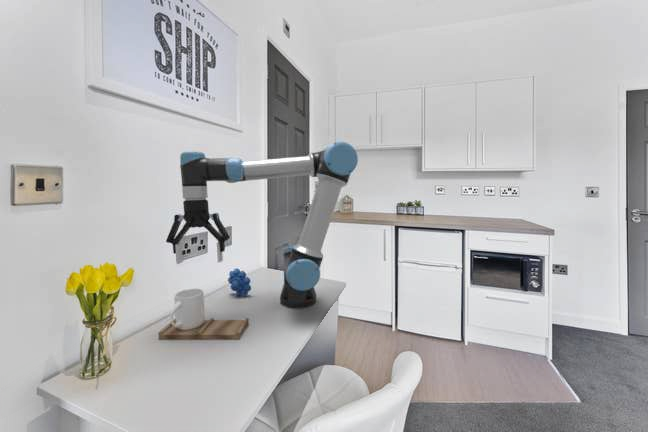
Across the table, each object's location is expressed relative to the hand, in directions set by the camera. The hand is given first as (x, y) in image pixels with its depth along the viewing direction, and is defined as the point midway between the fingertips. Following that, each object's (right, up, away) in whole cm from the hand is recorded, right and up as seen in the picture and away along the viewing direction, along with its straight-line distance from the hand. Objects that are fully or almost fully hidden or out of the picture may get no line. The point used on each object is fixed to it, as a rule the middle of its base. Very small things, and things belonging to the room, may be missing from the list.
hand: (200, 262), depth 94 cm
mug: (-3, -21, -4) cm, 21 cm away
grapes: (+5, -20, +27) cm, 34 cm away
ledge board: (+4, -22, -4) cm, 23 cm away
